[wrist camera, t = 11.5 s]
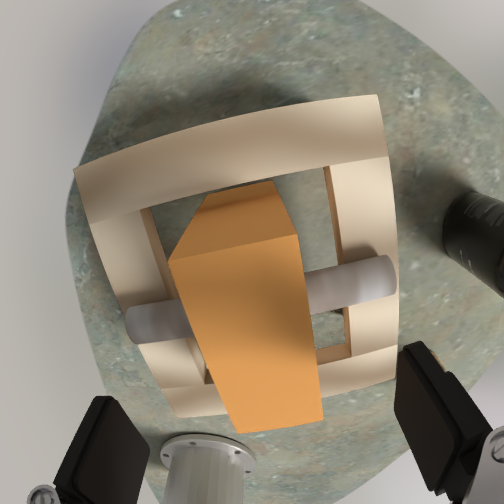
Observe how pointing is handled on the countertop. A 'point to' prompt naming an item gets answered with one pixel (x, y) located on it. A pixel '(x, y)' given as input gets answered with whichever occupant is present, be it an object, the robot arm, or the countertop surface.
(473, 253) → the supplement bottle
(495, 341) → the countertop surface
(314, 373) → the orange block
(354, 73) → the countertop surface
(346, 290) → the wooden frame stool
